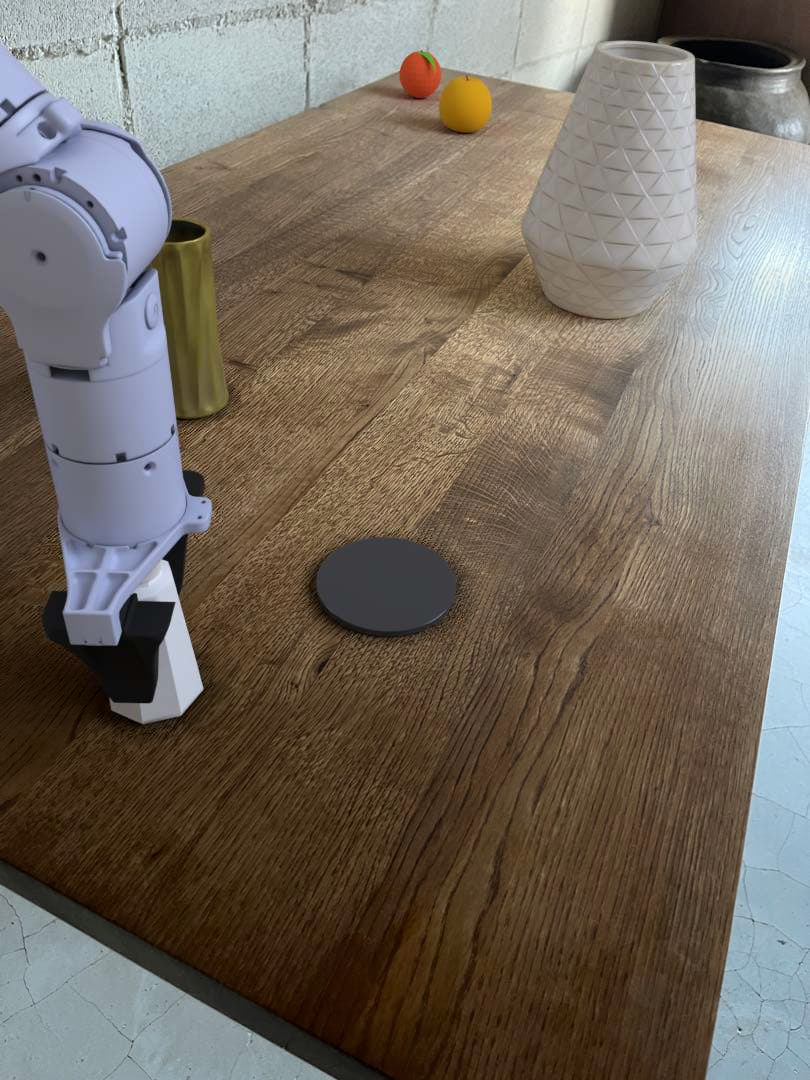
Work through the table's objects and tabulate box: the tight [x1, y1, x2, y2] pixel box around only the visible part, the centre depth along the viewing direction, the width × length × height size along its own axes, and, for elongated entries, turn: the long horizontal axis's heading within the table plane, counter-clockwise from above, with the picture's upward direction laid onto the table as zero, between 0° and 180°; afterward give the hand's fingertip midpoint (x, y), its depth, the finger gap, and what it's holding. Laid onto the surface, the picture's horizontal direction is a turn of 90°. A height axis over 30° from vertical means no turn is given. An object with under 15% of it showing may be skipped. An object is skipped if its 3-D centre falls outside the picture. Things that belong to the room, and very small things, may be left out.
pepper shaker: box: [108, 560, 204, 725], centre depth 48 cm, size 5×5×11 cm
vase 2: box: [520, 40, 699, 320], centre depth 89 cm, size 18×17×23 cm
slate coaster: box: [315, 536, 457, 638], centre depth 59 cm, size 9×9×1 cm
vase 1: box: [145, 216, 230, 420], centre depth 71 cm, size 6×6×14 cm
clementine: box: [398, 49, 442, 99], centre depth 151 cm, size 8×7×7 cm
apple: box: [438, 75, 493, 134], centre depth 138 cm, size 8×8×8 cm
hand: (148, 643), depth 49 cm, fingers open, 7 cm apart
